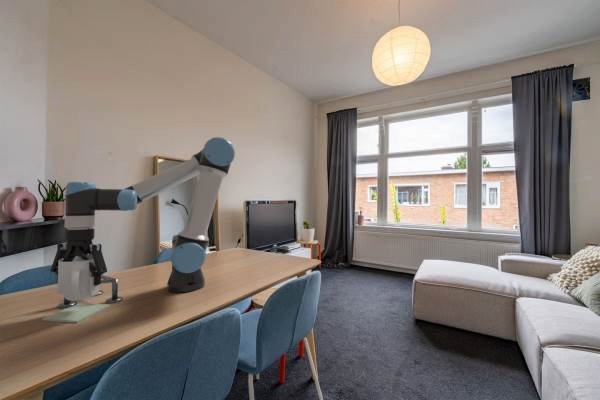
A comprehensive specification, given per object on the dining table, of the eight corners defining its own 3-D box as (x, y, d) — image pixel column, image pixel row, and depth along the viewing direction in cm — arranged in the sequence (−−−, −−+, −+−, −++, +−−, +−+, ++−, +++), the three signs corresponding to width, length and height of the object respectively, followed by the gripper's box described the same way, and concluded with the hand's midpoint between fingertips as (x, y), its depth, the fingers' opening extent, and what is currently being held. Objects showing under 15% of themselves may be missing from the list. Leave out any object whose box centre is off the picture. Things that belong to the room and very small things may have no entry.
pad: (110, 306, 89) (110, 304, 89) (77, 322, 77) (77, 320, 77) (80, 304, 90) (80, 303, 90) (42, 320, 78) (42, 318, 78)
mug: (97, 303, 79) (98, 261, 79) (49, 311, 73) (50, 266, 73) (102, 289, 92) (103, 253, 92) (62, 294, 86) (62, 256, 86)
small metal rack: (135, 293, 101) (136, 270, 101) (100, 310, 85) (100, 283, 85) (95, 291, 103) (95, 268, 103) (53, 307, 87) (53, 280, 87)
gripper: (121, 228, 86) (119, 291, 86) (60, 226, 88) (58, 288, 88) (102, 230, 79) (100, 300, 78) (36, 228, 81) (34, 296, 81)
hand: (78, 294), depth 83 cm, fingers closed on mug, 11 cm apart
